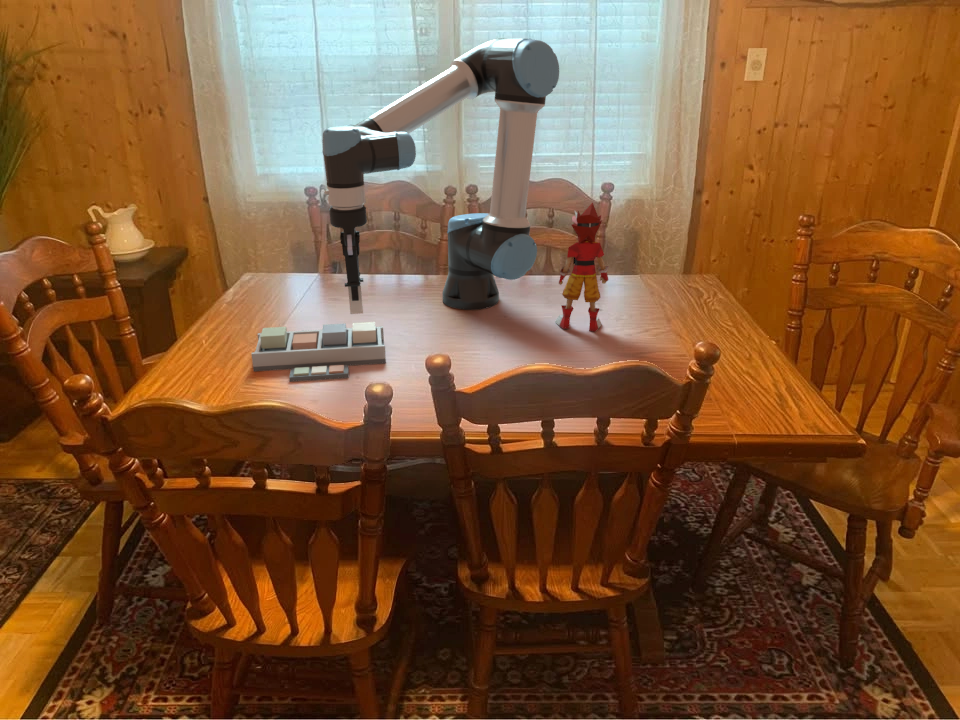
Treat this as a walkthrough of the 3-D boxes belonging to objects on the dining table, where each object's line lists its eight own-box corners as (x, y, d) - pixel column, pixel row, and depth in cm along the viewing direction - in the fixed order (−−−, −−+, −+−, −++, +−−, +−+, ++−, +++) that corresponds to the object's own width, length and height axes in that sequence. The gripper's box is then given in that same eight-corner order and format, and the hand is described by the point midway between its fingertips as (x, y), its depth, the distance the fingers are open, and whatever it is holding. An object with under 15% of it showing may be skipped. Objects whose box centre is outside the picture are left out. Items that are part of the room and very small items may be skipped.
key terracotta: (318, 344, 165) (316, 333, 164) (317, 353, 161) (315, 341, 160) (295, 346, 165) (294, 334, 163) (293, 355, 160) (292, 343, 159)
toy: (599, 318, 185) (608, 199, 173) (608, 332, 177) (618, 208, 164) (552, 319, 184) (558, 200, 172) (559, 333, 176) (565, 209, 164)
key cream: (375, 333, 166) (375, 321, 165) (376, 341, 162) (375, 330, 161) (353, 334, 166) (352, 323, 164) (353, 343, 161) (352, 331, 160)
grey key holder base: (383, 341, 171) (382, 326, 170) (385, 363, 160) (384, 346, 159) (260, 349, 167) (258, 332, 166) (253, 371, 157) (251, 354, 155)
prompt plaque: (348, 369, 158) (348, 363, 157) (348, 377, 154) (347, 371, 153) (291, 372, 156) (290, 366, 155) (289, 381, 152) (289, 375, 151)
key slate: (346, 335, 165) (345, 323, 164) (346, 343, 161) (345, 331, 160) (324, 336, 165) (323, 324, 164) (323, 345, 160) (322, 333, 159)
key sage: (287, 338, 164) (286, 326, 162) (285, 347, 159) (284, 335, 158) (264, 339, 163) (262, 327, 162) (261, 348, 158) (260, 336, 157)
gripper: (330, 199, 157) (340, 303, 167) (327, 214, 145) (338, 324, 155) (365, 197, 158) (373, 301, 168) (365, 212, 146) (374, 322, 156)
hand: (356, 312), depth 161 cm, fingers closed
